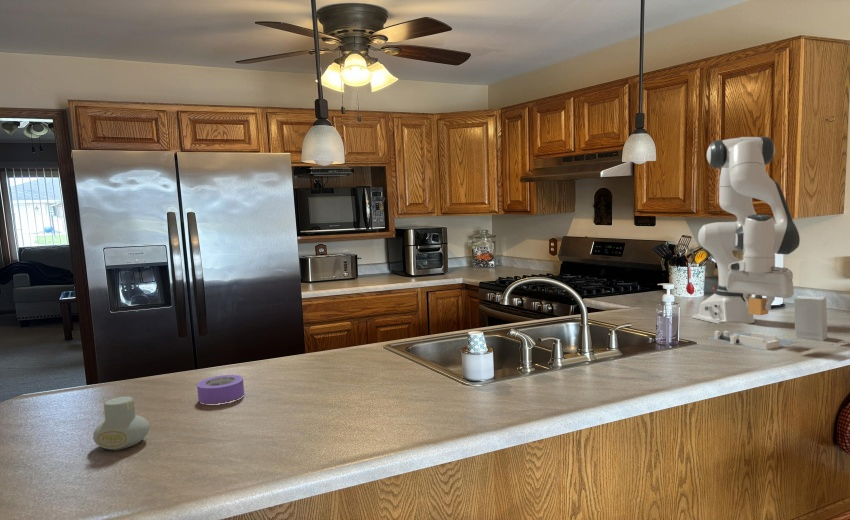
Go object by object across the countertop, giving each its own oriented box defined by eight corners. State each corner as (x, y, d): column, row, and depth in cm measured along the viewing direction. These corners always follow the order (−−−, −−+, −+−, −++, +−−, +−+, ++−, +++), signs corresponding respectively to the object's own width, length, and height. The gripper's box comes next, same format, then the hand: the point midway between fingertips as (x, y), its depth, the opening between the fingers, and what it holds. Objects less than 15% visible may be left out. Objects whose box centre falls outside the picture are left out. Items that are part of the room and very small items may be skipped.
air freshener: (156, 436, 132) (152, 393, 131) (139, 451, 124) (135, 405, 123) (107, 438, 132) (103, 395, 131) (87, 453, 124) (83, 408, 123)
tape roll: (196, 408, 150) (194, 389, 150) (200, 395, 162) (199, 377, 161) (243, 402, 153) (242, 384, 153) (245, 389, 165) (243, 372, 164)
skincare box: (827, 340, 193) (828, 296, 192) (822, 344, 189) (823, 299, 187) (798, 337, 199) (799, 294, 198) (793, 340, 195) (794, 296, 194)
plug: (748, 313, 187) (748, 295, 186) (756, 312, 189) (756, 293, 188) (760, 315, 183) (760, 296, 183) (768, 313, 185) (768, 295, 185)
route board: (706, 341, 198) (706, 330, 198) (739, 334, 207) (739, 323, 206) (763, 353, 181) (763, 340, 180) (797, 345, 189) (797, 333, 189)
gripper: (798, 267, 177) (797, 312, 178) (735, 263, 195) (735, 303, 196) (786, 268, 174) (785, 314, 175) (723, 264, 192) (723, 305, 193)
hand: (758, 308), depth 186 cm, fingers closed on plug, 4 cm apart
